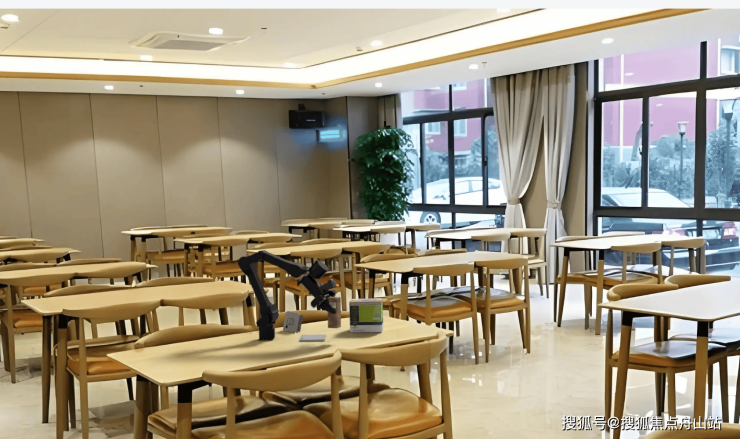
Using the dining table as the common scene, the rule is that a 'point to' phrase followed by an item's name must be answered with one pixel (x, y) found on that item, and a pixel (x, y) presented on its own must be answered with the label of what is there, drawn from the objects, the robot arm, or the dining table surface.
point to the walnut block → (335, 319)
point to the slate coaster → (313, 338)
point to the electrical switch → (292, 321)
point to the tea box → (366, 315)
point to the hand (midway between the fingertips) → (337, 312)
